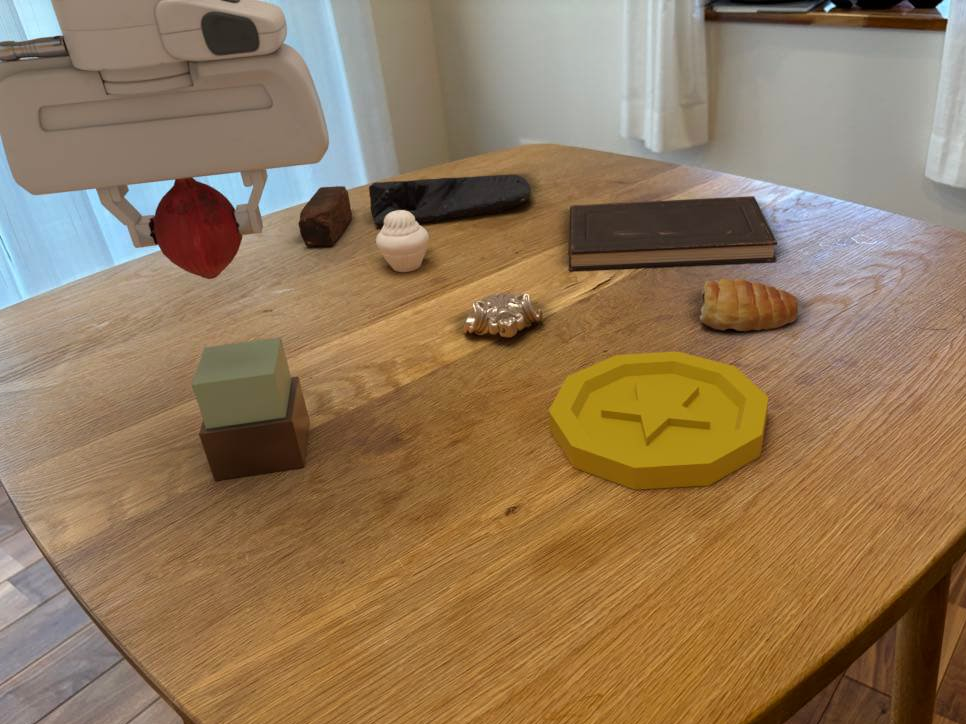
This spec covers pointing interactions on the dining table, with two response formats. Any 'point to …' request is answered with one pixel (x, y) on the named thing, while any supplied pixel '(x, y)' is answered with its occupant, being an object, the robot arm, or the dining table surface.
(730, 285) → the pastry
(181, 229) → the onion
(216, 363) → the sage block
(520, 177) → the dark slate chunk
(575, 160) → the dining table surface
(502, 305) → the ornament
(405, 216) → the cream cupcake
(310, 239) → the dark brown bar
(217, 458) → the walnut block
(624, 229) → the hardcover book
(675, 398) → the decorative disc
